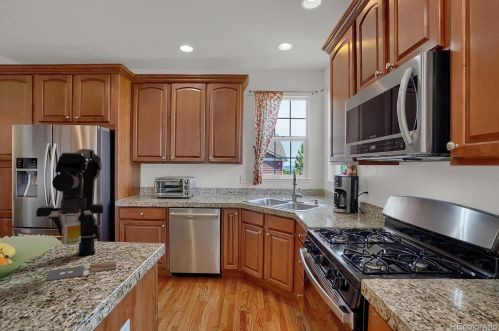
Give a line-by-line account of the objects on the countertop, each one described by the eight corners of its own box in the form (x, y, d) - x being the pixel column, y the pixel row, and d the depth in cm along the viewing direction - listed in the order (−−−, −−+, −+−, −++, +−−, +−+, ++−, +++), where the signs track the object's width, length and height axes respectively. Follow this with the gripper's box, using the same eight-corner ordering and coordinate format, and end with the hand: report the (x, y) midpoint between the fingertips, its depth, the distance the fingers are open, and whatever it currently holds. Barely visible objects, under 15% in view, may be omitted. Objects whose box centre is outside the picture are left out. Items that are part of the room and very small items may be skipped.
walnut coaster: (90, 265, 99) (90, 264, 99) (115, 262, 103) (115, 261, 103) (90, 272, 92) (90, 271, 92) (116, 268, 96) (116, 267, 96)
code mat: (50, 270, 93) (50, 270, 93) (84, 266, 98) (84, 265, 98) (45, 281, 85) (45, 280, 85) (82, 275, 89) (82, 275, 89)
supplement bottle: (84, 241, 95) (84, 213, 95) (72, 246, 89) (73, 216, 90) (70, 241, 95) (70, 213, 95) (57, 245, 90) (58, 215, 90)
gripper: (32, 192, 81) (31, 244, 81) (103, 190, 90) (102, 237, 90) (40, 189, 91) (39, 236, 91) (103, 188, 100) (102, 230, 100)
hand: (71, 235), depth 92 cm, fingers closed on supplement bottle, 5 cm apart
